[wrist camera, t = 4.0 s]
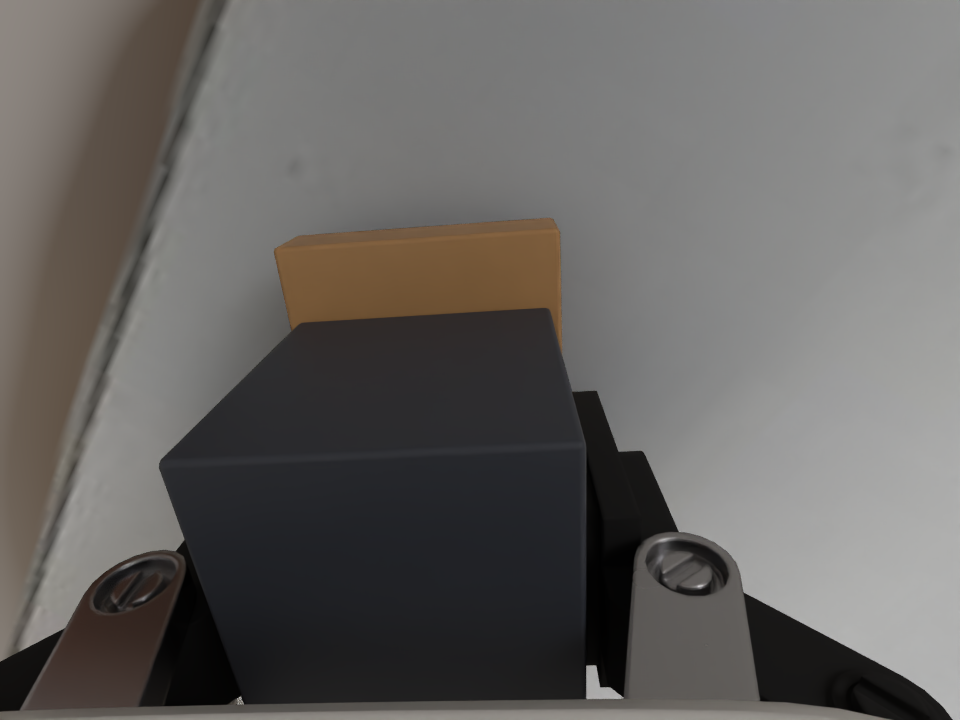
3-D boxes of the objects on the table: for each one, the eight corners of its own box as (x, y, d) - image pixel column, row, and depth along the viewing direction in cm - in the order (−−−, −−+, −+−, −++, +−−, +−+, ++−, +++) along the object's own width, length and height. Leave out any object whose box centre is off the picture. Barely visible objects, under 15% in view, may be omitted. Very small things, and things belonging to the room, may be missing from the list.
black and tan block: (295, 235, 10) (90, 346, 5) (553, 216, 10) (611, 314, 5) (384, 668, 15) (322, 959, 10) (563, 665, 14) (598, 962, 9)
